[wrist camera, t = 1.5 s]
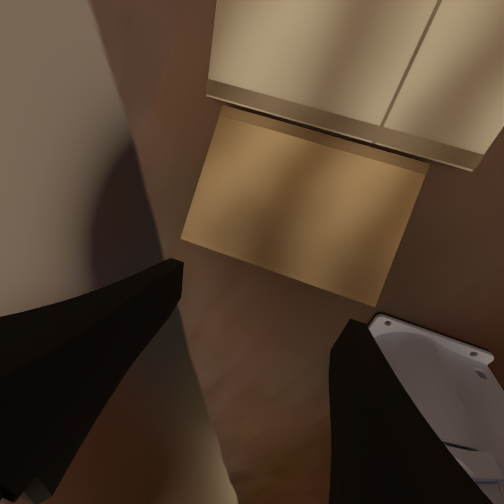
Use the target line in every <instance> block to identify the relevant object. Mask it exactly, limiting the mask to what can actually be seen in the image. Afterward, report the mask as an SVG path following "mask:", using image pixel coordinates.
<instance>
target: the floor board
mask: <svg viewBox="0 0 504 504" xmlns="http://www.w3.org/2000/svg"><path fill="white" fill-rule="evenodd" d="M206 96H208V97H212V98H215V99H219V100H222V101H226V102H229V103H233V104H236V105H240V106H243V107H247V108H250V109H254V110H257V111H261V112H264V113H268V114H271V115H275V116H278V117H282V118H285V119H289V120H293V121H296V122H300V123H303V124H307V125H310V126H314V127H317V128H321V129H324V130H328V131H331V132H335V133H338V134H342V135H345V136H349V137H352V138H356V139H359V140H363V141H366V142H370V143H373V144H377V145H381V146H384V147H388V148H391V149H395V150H398V151H402V152H405V153H409V154H412V155H416V156H419V157H423V158H426V159H430V160H433V161H437V162H440V163H444V164H447V165H451V166H455V167H458V168H462V169H465V170H469V171H473V170H475V168H476V167H477V166H478V164H479V163H480V161H481V160H482V159H483V157H484V156H485V155H484V153H485V152H486V151H487V149H488V148H489V146H490V145H491V143H492V142H493V141H494V139H495V138H496V136H497V135H498V133H499V132H500V131H501V129H502V128H503V126H504V0H217V4H216V13H215V22H214V31H213V40H212V49H211V57H210V66H209V75H208V79H207V85H206Z"/></svg>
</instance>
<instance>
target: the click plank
mask: <svg viewBox="0 0 504 504" xmlns="http://www.w3.org/2000/svg"><path fill="white" fill-rule="evenodd" d="M429 166H430V164H428V163H425V162H421V161H418V160H414V159H411V158H407V157H404V156H400V155H397V154H393V153H390V152H386V151H383V150H379V149H376V148H372V147H369V146H365V145H362V144H358V143H355V142H351V141H348V140H344V139H341V138H337V137H334V136H330V135H327V134H323V133H320V132H316V131H313V130H309V129H306V128H302V127H299V126H295V125H292V124H288V123H285V122H281V121H278V120H274V119H271V118H267V117H264V116H260V115H257V114H253V113H250V112H246V111H243V110H239V109H236V108H232V107H229V106H225V105H222V108H221V111H220V116H219V119H218V122H217V125H216V128H215V131H214V135H213V138H212V141H211V144H210V147H209V150H208V153H207V156H206V160H205V163H204V166H203V169H202V172H201V175H200V178H199V182H198V185H197V188H196V191H195V194H194V197H193V200H192V204H191V207H190V210H189V213H188V216H187V219H186V222H185V226H184V229H183V232H182V235H181V238H180V239H183V240H185V241H188V242H191V243H194V244H197V245H200V246H202V247H205V248H208V249H211V250H214V251H217V252H219V253H222V254H225V255H228V256H231V257H234V258H236V259H239V260H242V261H245V262H248V263H250V264H253V265H256V266H259V267H262V268H265V269H267V270H270V271H273V272H276V273H279V274H282V275H284V276H287V277H290V278H293V279H296V280H299V281H301V282H304V283H307V284H310V285H313V286H315V287H318V288H321V289H324V290H327V291H330V292H332V293H335V294H338V295H341V296H344V297H347V298H349V299H352V300H355V301H358V302H361V303H364V304H366V305H369V306H372V307H375V306H376V304H377V301H378V298H379V296H380V293H381V291H382V288H383V285H384V283H385V280H386V277H387V275H388V272H389V270H390V267H391V264H392V262H393V259H394V257H395V254H396V251H397V249H398V246H399V243H400V241H401V238H402V236H403V233H404V230H405V228H406V225H407V223H408V220H409V217H410V215H411V212H412V209H413V207H414V204H415V202H416V199H417V196H418V194H419V191H420V188H421V186H422V183H423V181H424V178H425V175H426V174H427V172H428V169H429Z"/></svg>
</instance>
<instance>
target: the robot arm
mask: <svg viewBox="0 0 504 504" xmlns="http://www.w3.org/2000/svg"><path fill="white" fill-rule="evenodd" d="M183 267H184V262H181V261H178V260H175V259H172V258H170V259H167V260H165V261H163V262H161V263H158V264H156V265H154V266H152V267H150V268H148V269H146V270H143V271H141V272H139V273H137V274H134V275H132V276H130V277H128V278H125V279H123V280H120V281H118V282H115V283H113V284H111V285H108V286H105V287H103V288H100V289H98V290H95V291H92V292H90V293H87V294H84V295H81V296H78V297H75V298H71V299H69V300H65V301H62V302H58V303H55V304H51V305H47V306H43V307H40V308H36V309H32V310H28V311H24V312H20V313H16V314H11V315H7V316H2V317H0V500H1V499H2V498H4V499H6V500H8V501H11V502H13V503H14V502H15V501H16V500H17V499H18V498H19V497H20V498H23V499H25V500H27V501H29V502H31V503H33V504H39V503H41V502H43V501H45V500H47V499H48V498H50V497H52V496H53V494H54V492H55V490H56V488H57V487H58V485H59V483H60V481H61V479H62V478H63V476H64V474H65V472H66V471H67V469H68V467H69V465H70V464H71V462H72V460H73V458H74V456H75V455H76V453H77V451H78V449H79V448H80V446H81V444H82V443H83V441H84V439H85V438H86V436H87V434H88V432H89V431H90V429H91V428H92V426H93V424H94V422H95V421H96V419H97V418H98V416H99V414H100V413H101V411H102V409H103V408H104V406H105V405H106V403H107V401H108V400H109V398H110V397H111V395H112V394H113V392H114V391H115V389H116V387H117V386H118V384H119V383H120V381H121V380H122V378H123V377H124V375H125V374H126V372H127V371H128V369H129V368H130V366H131V365H132V364H133V362H134V361H135V360H136V358H137V357H138V356H139V355H140V353H141V352H142V351H143V350H144V348H145V347H146V346H147V344H148V343H149V342H150V341H151V339H152V338H153V337H154V336H155V334H156V333H157V332H158V331H159V329H160V328H161V327H162V325H163V324H164V323H165V322H166V320H167V319H168V318H169V316H170V315H171V313H172V311H173V310H174V308H175V307H176V305H177V303H178V302H179V300H180V298H181V292H182V279H183ZM386 321H390V322H386ZM471 352H472V353H471ZM493 360H494V357H493V355H492V354H491V353H490V352H488V351H485V350H483V349H480V348H477V347H474V346H471V345H469V344H466V343H463V342H460V341H457V340H455V339H452V338H449V337H446V336H443V335H440V334H438V333H435V332H432V331H429V330H426V329H424V328H421V327H418V326H415V325H412V324H410V323H407V322H404V321H401V320H398V319H395V318H393V317H390V316H387V315H384V314H378V315H376V316H375V318H374V319H373V321H372V322H371V323H370V325H369V326H368V327H367V325H366V324H365V323H362V322H359V321H356V320H353V319H350V320H349V321H348V323H347V325H346V326H345V328H344V330H343V331H342V333H341V334H340V336H339V338H338V339H337V341H336V342H335V344H334V346H333V347H332V349H331V352H330V363H329V397H330V417H331V448H332V451H331V474H330V492H329V504H504V391H503V389H502V388H501V386H500V385H499V383H498V381H497V380H496V378H495V377H494V375H493V374H492V372H491V370H490V369H489V367H488V366H487V365H488V364H489V363H490V362H492V361H493Z"/></svg>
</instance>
